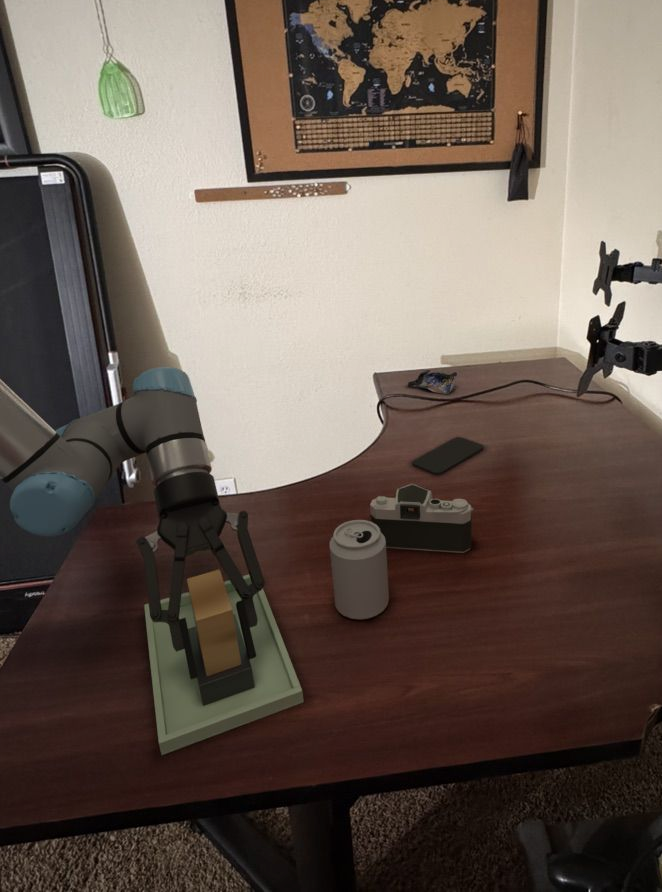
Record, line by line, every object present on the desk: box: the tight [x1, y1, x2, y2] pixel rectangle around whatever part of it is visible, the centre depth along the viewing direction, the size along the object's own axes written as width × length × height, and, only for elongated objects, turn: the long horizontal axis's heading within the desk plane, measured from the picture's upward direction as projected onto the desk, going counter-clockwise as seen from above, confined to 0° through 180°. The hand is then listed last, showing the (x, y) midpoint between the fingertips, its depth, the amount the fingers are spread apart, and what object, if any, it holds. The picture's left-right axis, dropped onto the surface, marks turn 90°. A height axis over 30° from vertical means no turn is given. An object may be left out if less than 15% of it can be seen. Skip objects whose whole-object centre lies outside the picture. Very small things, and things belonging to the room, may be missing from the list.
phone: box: [411, 436, 484, 476], centre depth 126 cm, size 7×1×15 cm
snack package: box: [407, 369, 458, 395], centre depth 162 cm, size 12×6×12 cm
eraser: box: [186, 569, 255, 706], centre depth 75 cm, size 10×6×11 cm, turn 24°
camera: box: [369, 483, 475, 554], centre depth 99 cm, size 16×9×10 cm, turn 80°
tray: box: [143, 574, 305, 756], centre depth 79 cm, size 24×16×2 cm, turn 23°
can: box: [329, 519, 390, 620], centre depth 85 cm, size 8×8×12 cm
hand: (223, 667), depth 72 cm, fingers closed on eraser, 6 cm apart
